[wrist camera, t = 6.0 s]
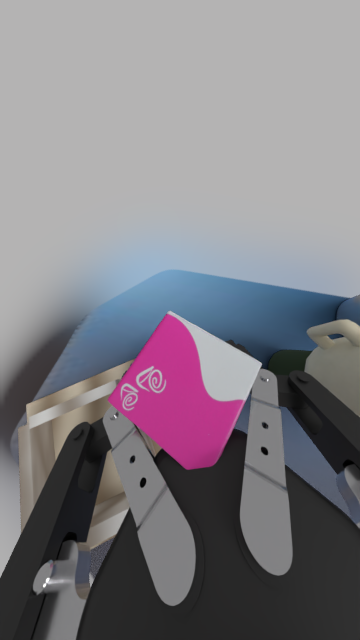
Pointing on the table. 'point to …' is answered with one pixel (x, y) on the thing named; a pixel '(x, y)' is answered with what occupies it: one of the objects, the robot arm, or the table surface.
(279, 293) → the table surface
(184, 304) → the table surface
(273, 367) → the character mug
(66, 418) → the plate
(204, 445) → the supplement box
